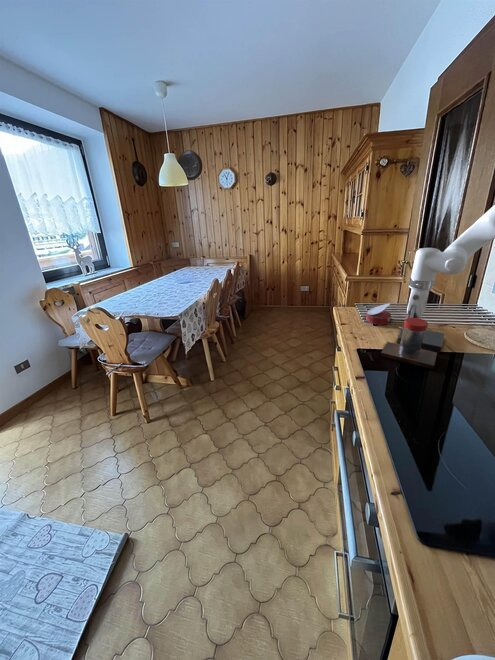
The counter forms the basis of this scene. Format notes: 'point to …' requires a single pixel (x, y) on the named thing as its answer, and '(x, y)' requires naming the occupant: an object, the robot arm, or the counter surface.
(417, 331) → the jar with red lid
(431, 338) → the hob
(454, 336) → the counter surface
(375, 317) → the canned food
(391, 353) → the board
